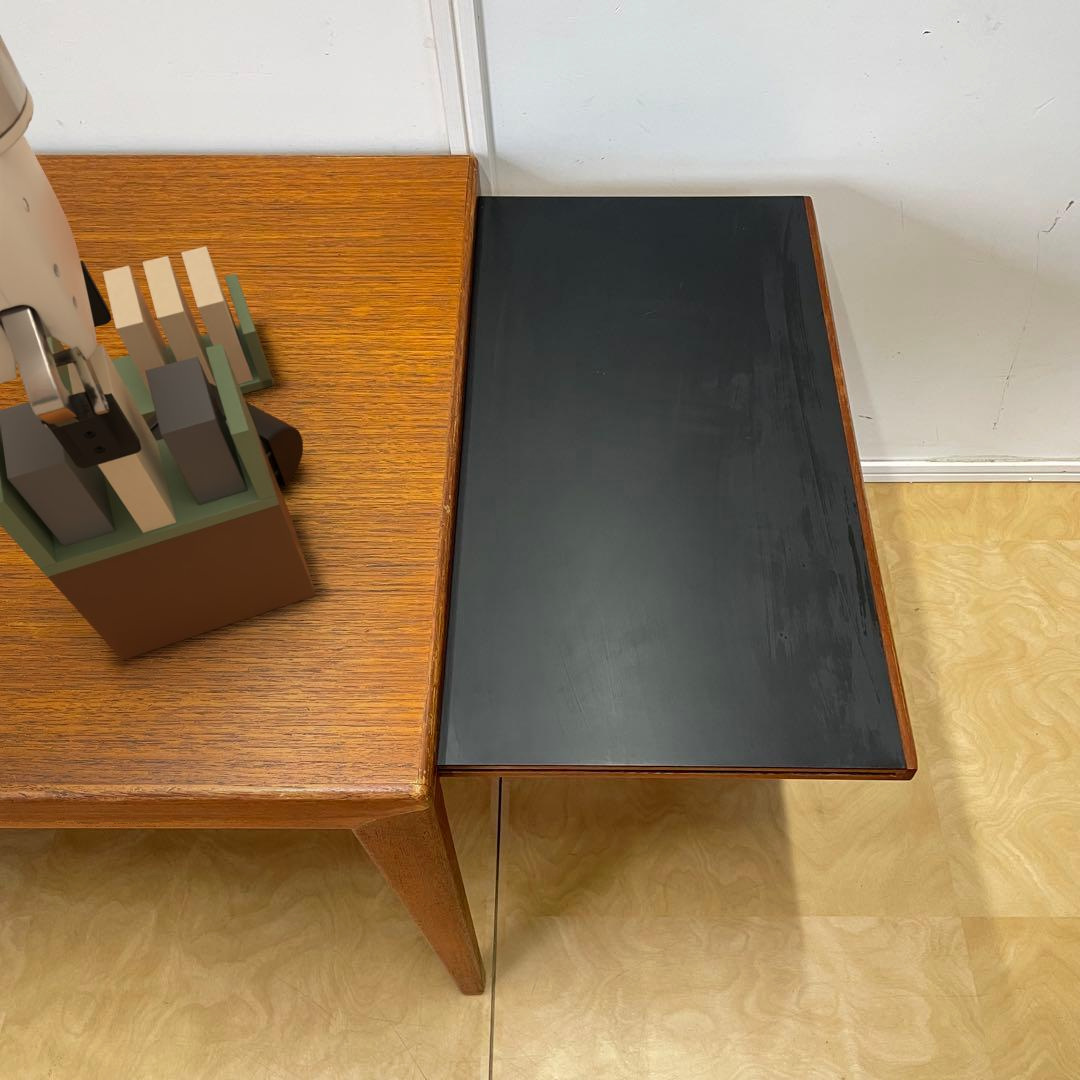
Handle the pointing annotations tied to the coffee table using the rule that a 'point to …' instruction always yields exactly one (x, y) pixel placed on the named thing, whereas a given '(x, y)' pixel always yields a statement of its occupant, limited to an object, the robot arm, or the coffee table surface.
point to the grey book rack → (168, 552)
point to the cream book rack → (178, 326)
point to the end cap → (265, 440)
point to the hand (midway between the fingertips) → (96, 388)
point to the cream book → (136, 473)
